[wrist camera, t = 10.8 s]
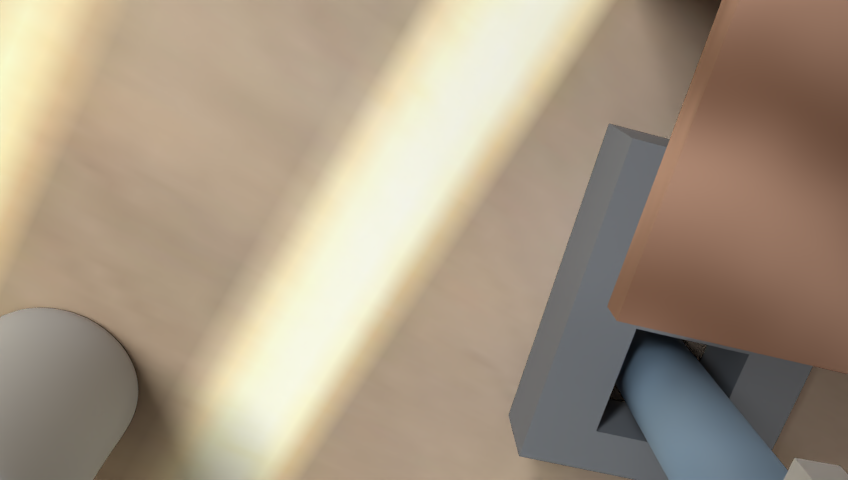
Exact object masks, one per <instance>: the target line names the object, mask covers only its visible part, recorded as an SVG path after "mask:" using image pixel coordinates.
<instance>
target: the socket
mask: <svg viewBox="0 0 848 480" xmlns="http://www.w3.org/2000/svg"><path fill="white" fill-rule="evenodd" d="M669 140H670V139H666V138H662V137H658V136H654V135H651V134H647V133H643V132H639V131H635V130H631V129H628V128H624V127H620V126H616V125H612V124H609V125H608V128H607V131H606V134H605V137H604V140H603V143H602V146H601V148H600V151H599V154H598V157H597V160H596V163H595V166H594V169H593V172H592V175H591V178H590V180H589V183H588V186H587V189H586V192H585V195H584V198H583V201H582V204H581V207H580V209H579V212H578V215H577V218H576V221H575V224H574V227H573V230H572V233H571V236H570V239H569V241H568V244H567V247H566V250H565V253H564V256H563V259H562V262H561V265H560V268H559V270H558V273H557V276H556V279H555V282H554V285H553V288H552V291H551V294H550V297H549V300H548V302H547V305H546V308H545V311H544V314H543V317H542V320H541V323H540V326H539V329H538V331H537V334H536V337H535V340H534V343H533V346H532V349H531V352H530V355H529V358H528V361H527V363H526V366H525V369H524V372H523V375H522V378H521V381H520V384H519V387H518V390H517V393H516V395H515V398H514V401H513V404H512V407H511V410H510V413H509V419H510V423H511V427H512V431H513V434H514V438H515V442H516V446H517V450H518V454H519V456H521V457H526V458H531V459H536V460H541V461H546V462H551V463H556V464H561V465H565V466H570V467H575V468H580V469H585V470H590V471H595V472H600V473H605V474H610V475H615V476H619V477H624V478H629V479H634V480H668V478H667V476H666V474H665V472H664V471H663V469H662V467H661V465H660V463H659V462H658V460H657V458H656V456H655V454H654V452H653V451H652V449H651V447H650V445H649V443H648V442H647V440H646V438H645V436H644V434H643V433H642V431H641V429H640V427H639V425H638V424H637V422H636V420H635V418H634V416H633V415H632V413H631V411H630V409H629V407H628V406H627V404H626V403H625V402H620V401H616V400H611V399H609V397H610V395H611V392H612V390H613V387H614V385H615V382H616V379H617V377H618V374H619V372H620V369H621V367H622V364H623V362H624V359H625V357H626V354H627V351H628V349H629V346H630V344H631V341H632V339H633V336H634V334H635V331H636V329H640V330H644V331H649V332H653V333H657V334H662V335H666V336H670V337H675V338H679V339H684V340H688V341H692V342H697V343H701V344H705V345H707V347H706V349H705V351H704V354H703V356H702V358H701V360H700V363H701V365H702V366H703V367H704V368H705V370H706V371H707V372H708V373H709V374H710V376H711V377H712V378H713V379H714V381H715V382H716V383H717V384H718V386H719V387H720V388H721V389H722V390H723V392H724V393H725V394H726V395H727V397H728V398H729V399H730V400H731V401H732V403H733V404H734V405H735V406H736V408H737V409H738V410H739V411H740V413H741V414H742V415H743V416H744V417H745V419H746V420H747V421H748V422H749V424H750V425H751V426H752V427H753V428H754V430H755V431H756V432H757V433H758V435H759V436H760V437H761V438H762V440H763V441H764V442H765V443H766V444H767V446H768V447H769V448H770V449H771V451H772V449H773V447H774V445H775V443H776V441H777V439H778V437H779V435H780V433H781V431H782V428H783V426H784V424H785V422H786V420H787V418H788V416H789V414H790V412H791V410H792V408H793V406H794V404H795V402H796V400H797V398H798V396H799V394H800V392H801V390H802V388H803V386H804V384H805V382H806V380H807V377H808V375H809V373H810V371H811V369H812V367H813V366H810V365H806V364H802V363H797V362H793V361H789V360H784V359H780V358H776V357H771V356H767V355H763V354H758V353H754V352H750V351H745V350H741V349H737V348H732V347H728V346H723V345H719V344H715V343H710V342H706V341H702V340H697V339H693V338H689V337H684V336H680V335H676V334H671V333H667V332H663V331H658V330H654V329H649V328H645V327H641V326H636V325H632V324H628V323H623V322H619V321H616V319H615V318H614V316H613V315H612V313H611V311H610V310H609V308H608V307H607V306H608V303H609V300H610V298H611V295H612V292H613V290H614V287H615V284H616V282H617V279H618V276H619V274H620V271H621V268H622V266H623V263H624V260H625V258H626V255H627V252H628V250H629V247H630V244H631V242H632V239H633V236H634V234H635V231H636V228H637V226H638V223H639V220H640V217H641V215H642V212H643V209H644V207H645V204H646V201H647V199H648V196H649V193H650V191H651V188H652V185H653V183H654V180H655V177H656V175H657V172H658V169H659V167H660V164H661V161H662V159H663V156H664V153H665V151H666V148H667V145H668V143H669Z"/></svg>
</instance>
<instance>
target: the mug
mask: <svg viewBox="0 0 848 480" xmlns="http://www.w3.org/2000/svg"><path fill="white" fill-rule="evenodd" d="M137 401H138V380H137V376H136V372H135V369H134V366H133V364H132V362H131V360H130V358H129V356H128V354H127V353H126V351H125V350H124V348H123V347H122V346H121V344H120V343H119V342H118V341H117V340H116V339H115V338H114V337H113V336H112V335H111V334H110V333H109V332H107V331H106V330H105V329H104V328H102V327H101V326H99V325H98V324H96V323H95V322H93V321H91V320H89V319H87V318H85V317H83V316H80V315H78V314H75V313H72V312H69V311H65V310H61V309H54V308H40V307H38V308H27V309H22V310H18V311H14V312H12V313H9V314H6V315H3V316H1V317H0V480H93V479H94V478H95V476H96V474H97V473H98V471H99V470H100V468H101V467H102V465H103V464H104V462H105V460H106V459H107V457H108V456H109V454H110V453H111V451H112V450H113V449H114V447H115V446H116V444H117V443H118V441H119V440H120V438H121V437H122V435H123V434H124V432H125V431H126V429H127V427H128V426H129V424H130V422H131V420H132V418H133V415H134V413H135V410H136V406H137Z"/></svg>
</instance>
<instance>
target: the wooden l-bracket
mask: <svg viewBox="0 0 848 480" xmlns="http://www.w3.org/2000/svg"><path fill="white" fill-rule="evenodd" d="M607 307H608V308H609V310H610V311H611V313H612V315H613V316H614V318H615V319H616V321H619V322H623V323H628V324H632V325H636V326H641V327H645V328H649V329H654V330H658V331H663V332H667V333H671V334H676V335H680V336H684V337H689V338H693V339H697V340H702V341H706V342H710V343H715V344H719V345H723V346H728V347H732V348H737V349H741V350H745V351H750V352H754V353H758V354H763V355H767V356H771V357H776V358H780V359H784V360H789V361H793V362H797V363H802V364H806V365H810V366H815V367H819V368H824V369H828V370H832V371H837V372H841V373H845V374H848V0H722V1H721V4H720V6H719V9H718V12H717V14H716V17H715V20H714V22H713V25H712V28H711V30H710V33H709V36H708V38H707V41H706V44H705V46H704V49H703V52H702V55H701V57H700V60H699V63H698V65H697V68H696V71H695V73H694V76H693V79H692V81H691V84H690V87H689V89H688V92H687V95H686V97H685V100H684V103H683V105H682V108H681V111H680V113H679V116H678V119H677V121H676V124H675V127H674V129H673V132H672V135H671V137H670V140H669V143H668V145H667V148H666V151H665V153H664V156H663V159H662V161H661V164H660V167H659V169H658V172H657V175H656V177H655V180H654V183H653V185H652V188H651V191H650V193H649V196H648V199H647V201H646V204H645V207H644V209H643V212H642V215H641V217H640V220H639V223H638V226H637V228H636V231H635V234H634V236H633V239H632V242H631V244H630V247H629V250H628V252H627V255H626V258H625V260H624V263H623V266H622V268H621V271H620V274H619V276H618V279H617V282H616V284H615V287H614V290H613V292H612V295H611V298H610V300H609V303H608V306H607Z"/></svg>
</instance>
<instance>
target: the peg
mask: <svg viewBox="0 0 848 480" xmlns="http://www.w3.org/2000/svg"><path fill="white" fill-rule="evenodd" d="M615 384H616V386H617V387H618V389H619V391H620V393H621V395H622V397H623V398H624V400H625V402H626V404H627V406H628V407H629V409H630V411H631V413H632V415H633V416H634V418H635V420H636V422H637V424H638V425H639V427H640V429H641V431H642V433H643V434H644V436H645V438H646V440H647V442H648V443H649V445H650V447H651V449H652V451H653V452H654V454H655V456H656V458H657V460H658V462H659V463H660V465H661V467H662V469H663V471H664V472H665V474H666V476H667V478H668V480H784V478H785V476H786V474H787V472H788V470H787V469H786V468H785V467H784V465H783V464H782V463H781V462H780V460H779V459H778V458H777V457H776V455H775V454H774V453H773V452H772V451H771V449H770V448H769V447H768V446H767V444H766V443H765V442H764V441H763V440H762V438H761V437H760V436H759V435H758V433H757V432H756V431H755V430H754V428H753V427H752V426H751V425H750V424H749V422H748V421H747V420H746V419H745V417H744V416H743V415H742V414H741V413H740V411H739V410H738V409H737V408H736V406H735V405H734V404H733V403H732V401H731V400H730V399H729V398H728V397H727V395H726V394H725V393H724V392H723V390H722V389H721V388H720V387H719V386H718V384H717V383H716V382H715V381H714V379H713V378H712V377H711V376H710V374H709V373H708V372H707V371H706V370H705V368H704V367H703V366H702V365H701V363H700V362H699V361H698V360H697V359H696V357H695V356H694V355H693V354H692V352H691V351H690V350H689V349H688V347H687V346H686V345H685V344H684V343H683V341H682V340H681V339H679V338H675V337H670V336H666V335H662V334H657V333H653V332H649V331H644V330H640V329H636V331H635V334H634V336H633V339H632V341H631V344H630V346H629V349H628V351H627V354H626V357H625V359H624V362H623V364H622V367H621V369H620V372H619V374H618V377H617V379H616V382H615Z"/></svg>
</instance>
